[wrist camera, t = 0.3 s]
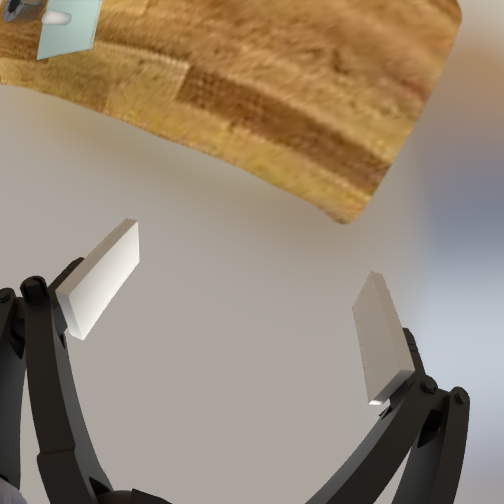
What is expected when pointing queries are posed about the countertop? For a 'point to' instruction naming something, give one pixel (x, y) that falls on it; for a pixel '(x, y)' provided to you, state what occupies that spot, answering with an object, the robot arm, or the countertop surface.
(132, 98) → the countertop surface
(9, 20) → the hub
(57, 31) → the post block
